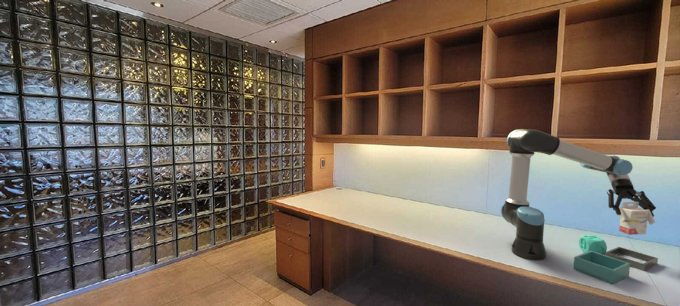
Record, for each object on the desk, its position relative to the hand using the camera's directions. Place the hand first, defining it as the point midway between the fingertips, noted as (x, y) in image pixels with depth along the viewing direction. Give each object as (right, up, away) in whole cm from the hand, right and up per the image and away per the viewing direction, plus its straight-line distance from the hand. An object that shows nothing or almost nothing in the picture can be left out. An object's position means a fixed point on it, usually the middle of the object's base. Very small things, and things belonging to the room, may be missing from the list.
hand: (638, 222), depth 130 cm
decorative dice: (-8, -20, +15) cm, 26 cm away
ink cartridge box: (+1, -6, +4) cm, 7 cm away
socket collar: (+2, -20, +5) cm, 21 cm away
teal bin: (-22, -22, -5) cm, 32 cm away
